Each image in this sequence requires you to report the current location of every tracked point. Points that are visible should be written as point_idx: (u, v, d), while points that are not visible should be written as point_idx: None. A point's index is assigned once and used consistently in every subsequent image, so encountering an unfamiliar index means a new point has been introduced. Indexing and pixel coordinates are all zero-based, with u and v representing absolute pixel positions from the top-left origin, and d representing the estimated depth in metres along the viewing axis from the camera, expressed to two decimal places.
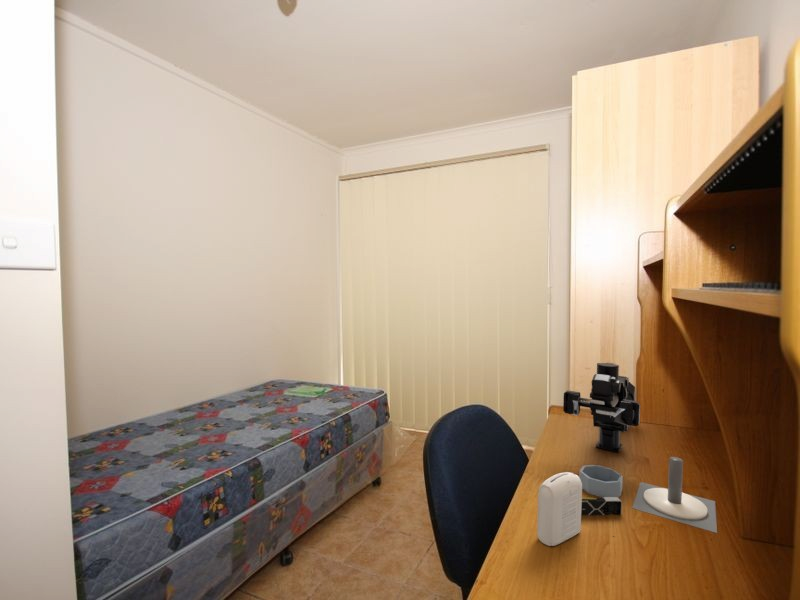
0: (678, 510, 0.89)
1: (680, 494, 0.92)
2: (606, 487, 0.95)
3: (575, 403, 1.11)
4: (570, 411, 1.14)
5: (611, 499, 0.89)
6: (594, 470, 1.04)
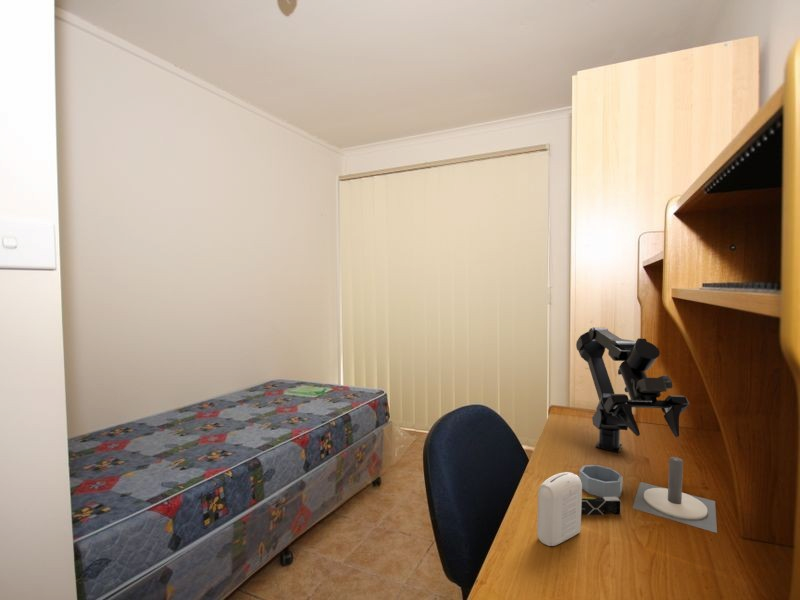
0: (678, 510, 0.89)
1: (680, 494, 0.92)
2: (606, 487, 0.95)
3: (631, 416, 1.02)
4: (616, 414, 1.06)
5: (610, 499, 0.89)
6: (594, 470, 1.04)
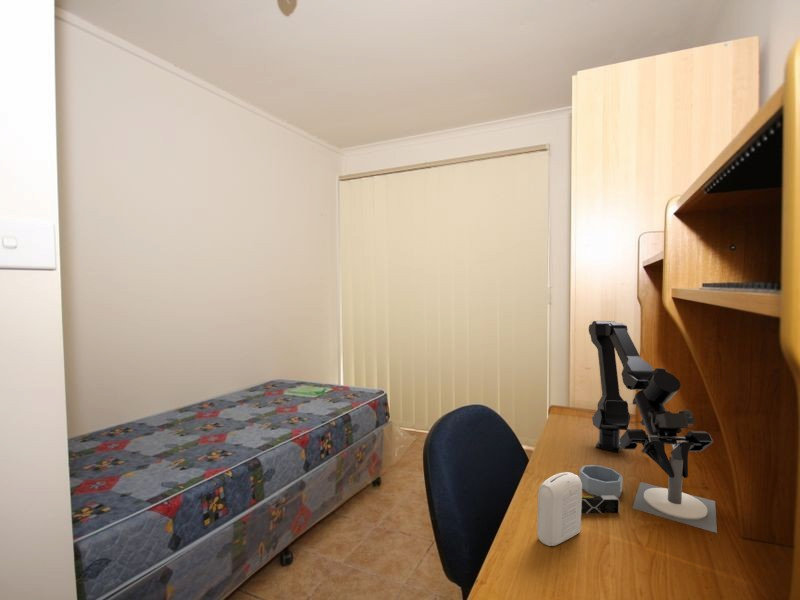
0: (678, 510, 0.89)
1: (680, 494, 0.92)
2: (606, 487, 0.95)
3: (664, 455, 0.93)
4: (646, 452, 0.97)
5: (608, 497, 0.90)
6: (594, 470, 1.04)
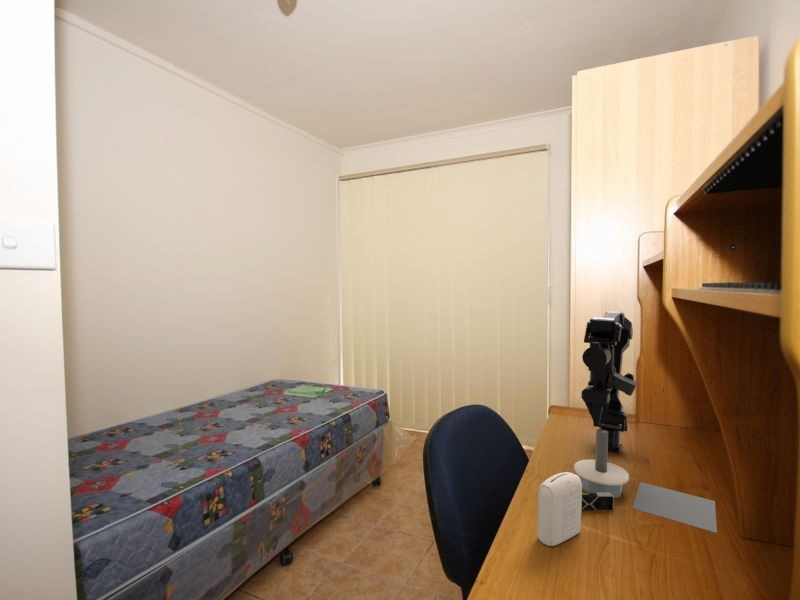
0: (592, 475, 0.97)
1: (603, 464, 0.99)
2: (606, 487, 0.95)
3: (601, 409, 1.07)
4: None
5: (603, 494, 0.91)
6: None
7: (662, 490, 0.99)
